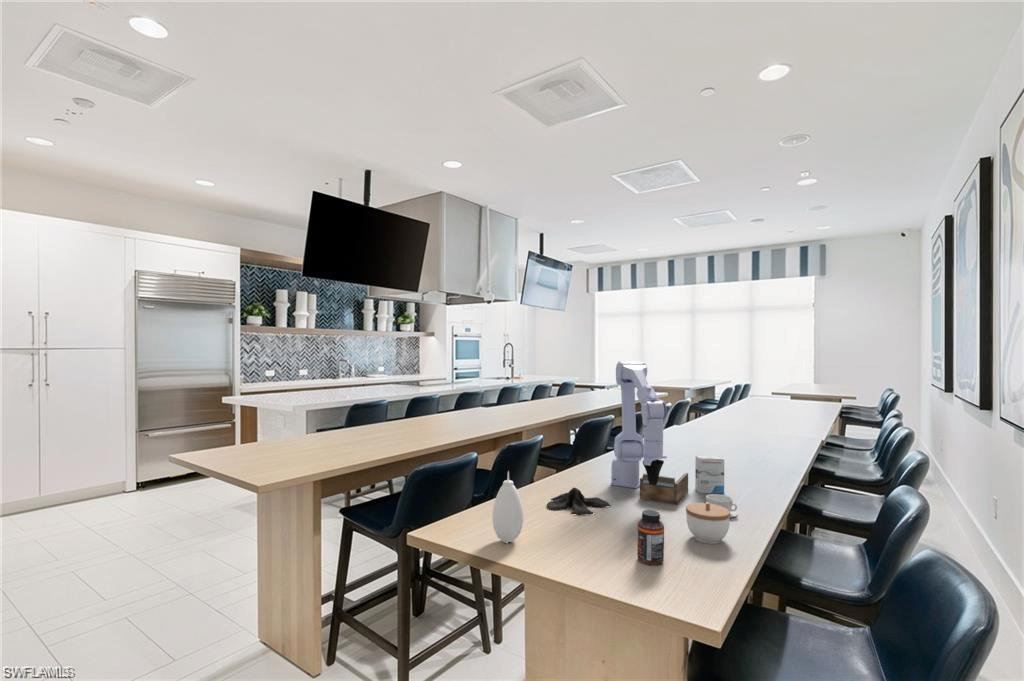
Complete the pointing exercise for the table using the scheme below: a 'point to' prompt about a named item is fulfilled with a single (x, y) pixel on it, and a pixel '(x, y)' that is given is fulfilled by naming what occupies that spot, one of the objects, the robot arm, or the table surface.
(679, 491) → the walnut box
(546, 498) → the table surface
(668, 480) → the lid
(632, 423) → the robot arm
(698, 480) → the ink box
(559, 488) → the table surface
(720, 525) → the lidded jar
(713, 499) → the teacup
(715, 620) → the table surface
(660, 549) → the supplement bottle
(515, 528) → the air blower bulb
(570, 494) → the cloth
